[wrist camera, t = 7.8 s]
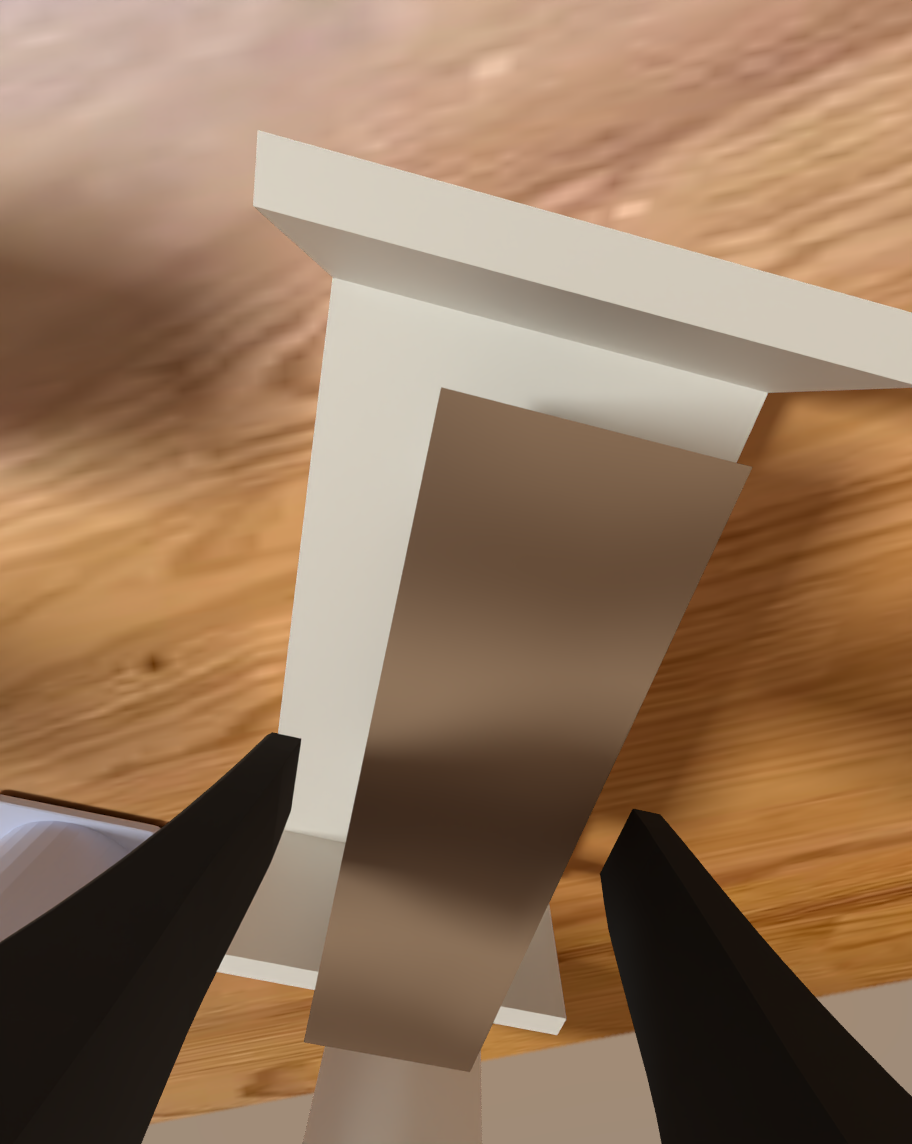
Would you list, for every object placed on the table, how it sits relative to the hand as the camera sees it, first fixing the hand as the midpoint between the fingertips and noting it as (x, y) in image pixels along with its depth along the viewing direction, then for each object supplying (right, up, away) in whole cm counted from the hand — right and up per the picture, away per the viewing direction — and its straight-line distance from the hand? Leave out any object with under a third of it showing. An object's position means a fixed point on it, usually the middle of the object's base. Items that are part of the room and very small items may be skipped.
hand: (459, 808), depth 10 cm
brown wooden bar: (0, +1, +4) cm, 4 cm away
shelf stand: (0, +3, +7) cm, 8 cm away
